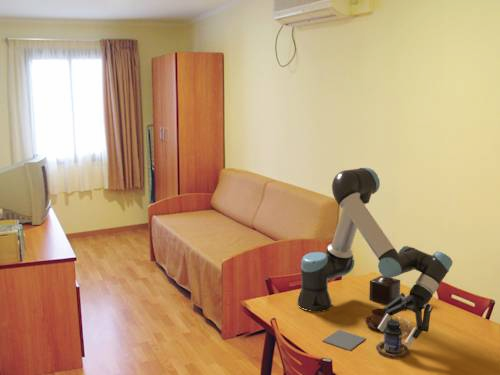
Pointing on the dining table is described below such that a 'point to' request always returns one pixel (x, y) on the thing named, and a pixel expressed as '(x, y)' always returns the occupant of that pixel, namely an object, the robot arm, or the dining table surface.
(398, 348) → the pill bottle
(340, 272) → the robot arm
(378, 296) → the manual coffee grinder
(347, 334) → the mat
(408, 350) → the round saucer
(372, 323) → the cup and saucer
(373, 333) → the dining table surface
